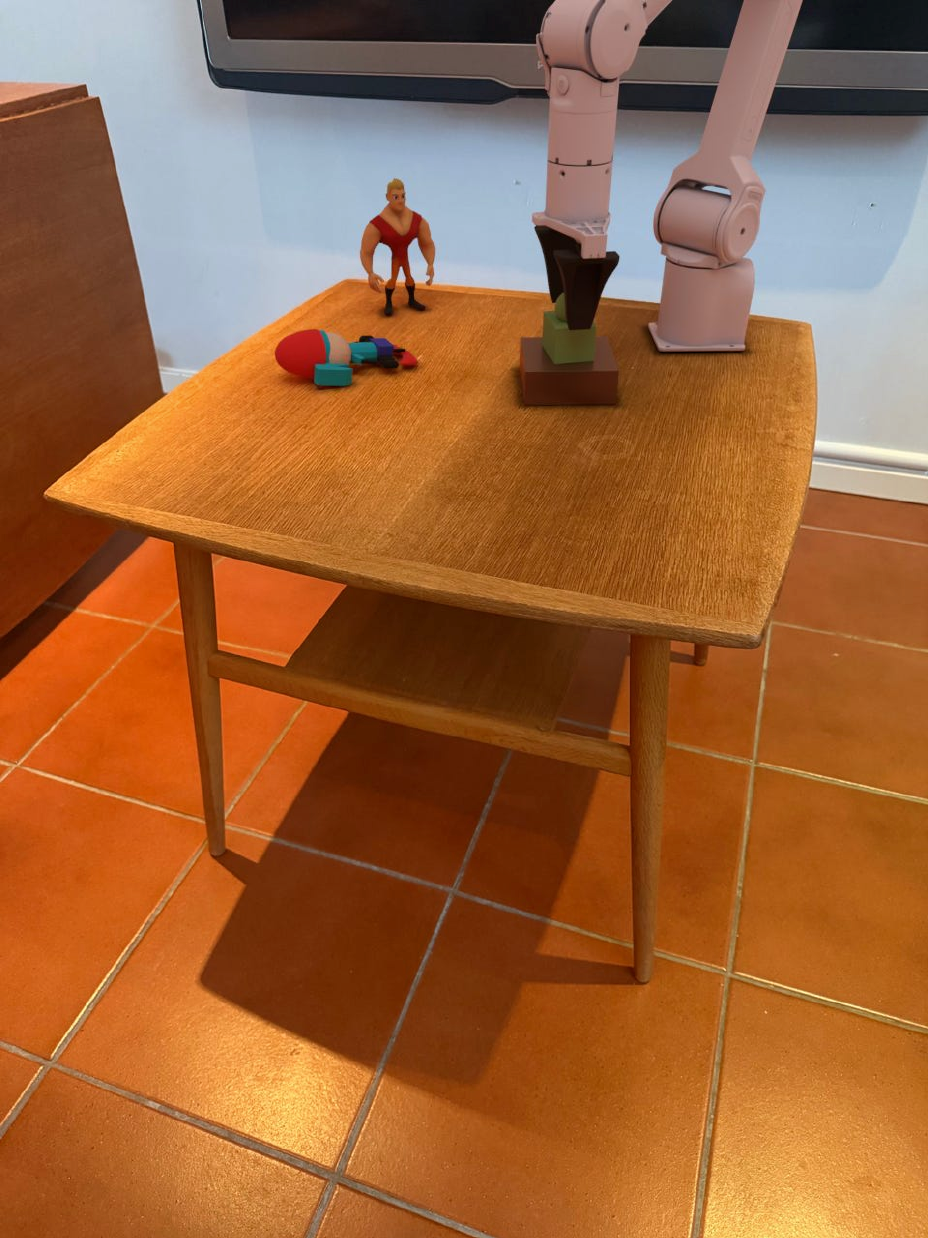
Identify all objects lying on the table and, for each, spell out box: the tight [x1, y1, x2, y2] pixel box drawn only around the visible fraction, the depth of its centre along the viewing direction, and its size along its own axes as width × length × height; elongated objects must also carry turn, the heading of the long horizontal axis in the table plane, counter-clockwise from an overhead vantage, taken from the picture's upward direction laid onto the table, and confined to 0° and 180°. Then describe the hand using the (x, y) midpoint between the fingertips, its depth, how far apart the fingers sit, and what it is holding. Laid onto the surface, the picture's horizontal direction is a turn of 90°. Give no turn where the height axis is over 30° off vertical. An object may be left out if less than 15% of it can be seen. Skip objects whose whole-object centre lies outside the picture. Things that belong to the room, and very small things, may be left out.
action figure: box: [359, 177, 436, 316], centre depth 104 cm, size 10×4×15 cm, turn 114°
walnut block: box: [519, 336, 620, 406], centre depth 89 cm, size 9×9×4 cm
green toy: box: [542, 293, 598, 364], centre depth 86 cm, size 4×5×6 cm
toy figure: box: [274, 328, 419, 387], centre depth 93 cm, size 8×5×15 cm
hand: (570, 314), depth 86 cm, fingers open, 7 cm apart
